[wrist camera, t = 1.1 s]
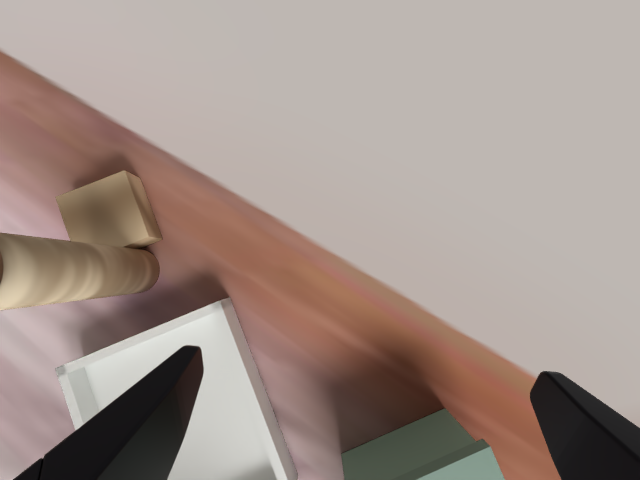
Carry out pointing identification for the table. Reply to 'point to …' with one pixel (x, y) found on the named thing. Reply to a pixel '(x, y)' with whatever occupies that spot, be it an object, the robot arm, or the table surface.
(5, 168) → the table surface
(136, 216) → the tan cylinder with block
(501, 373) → the table surface
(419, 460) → the green lidded box
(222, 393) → the tray
